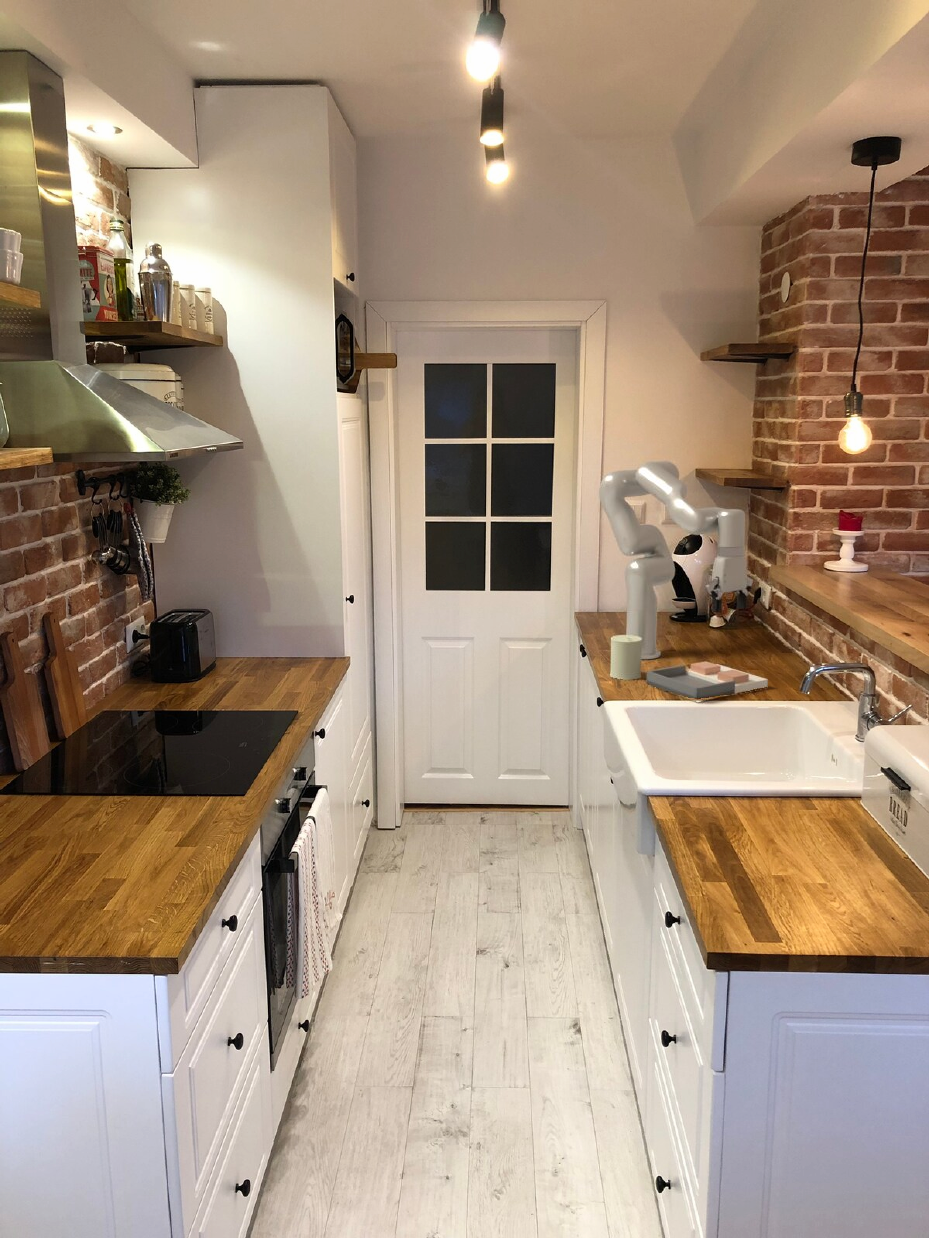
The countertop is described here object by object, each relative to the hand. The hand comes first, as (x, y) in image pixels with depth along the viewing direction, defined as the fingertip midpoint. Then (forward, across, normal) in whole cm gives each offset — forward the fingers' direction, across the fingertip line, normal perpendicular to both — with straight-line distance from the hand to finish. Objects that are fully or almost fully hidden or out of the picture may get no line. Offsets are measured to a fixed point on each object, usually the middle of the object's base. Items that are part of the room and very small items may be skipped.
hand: (729, 610), depth 284 cm
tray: (+20, +19, +5) cm, 28 cm away
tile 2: (+18, +8, +10) cm, 22 cm away
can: (+19, +25, -16) cm, 36 cm away
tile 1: (+17, +8, -1) cm, 19 cm away
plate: (+20, +6, +5) cm, 21 cm away
